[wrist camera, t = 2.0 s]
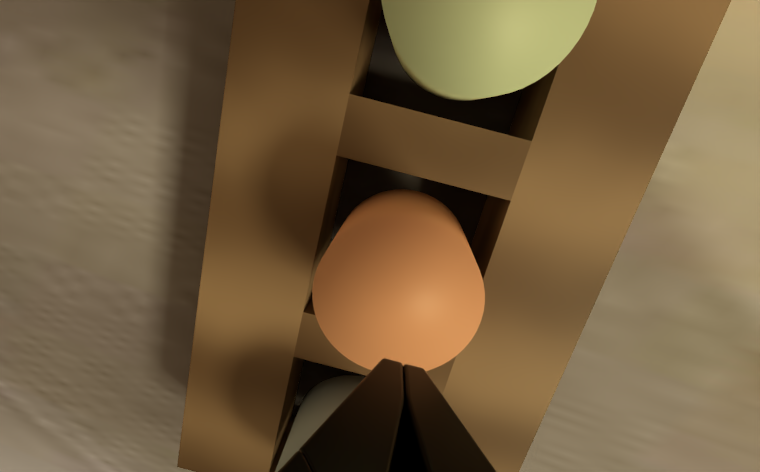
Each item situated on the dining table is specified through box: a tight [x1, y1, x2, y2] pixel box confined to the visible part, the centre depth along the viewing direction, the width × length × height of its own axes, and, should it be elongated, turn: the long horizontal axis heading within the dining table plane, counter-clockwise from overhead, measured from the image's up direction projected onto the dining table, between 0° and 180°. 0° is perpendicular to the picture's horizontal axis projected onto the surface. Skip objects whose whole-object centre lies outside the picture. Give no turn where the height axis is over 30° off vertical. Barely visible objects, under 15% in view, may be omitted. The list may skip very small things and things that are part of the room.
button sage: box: [381, 0, 597, 101], centre depth 11 cm, size 5×5×4 cm
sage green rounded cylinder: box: [275, 375, 365, 472], centre depth 16 cm, size 5×5×4 cm
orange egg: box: [312, 189, 485, 371], centre depth 13 cm, size 5×5×4 cm
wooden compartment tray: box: [177, 0, 731, 472], centre depth 16 cm, size 24×14×4 cm, turn 166°
